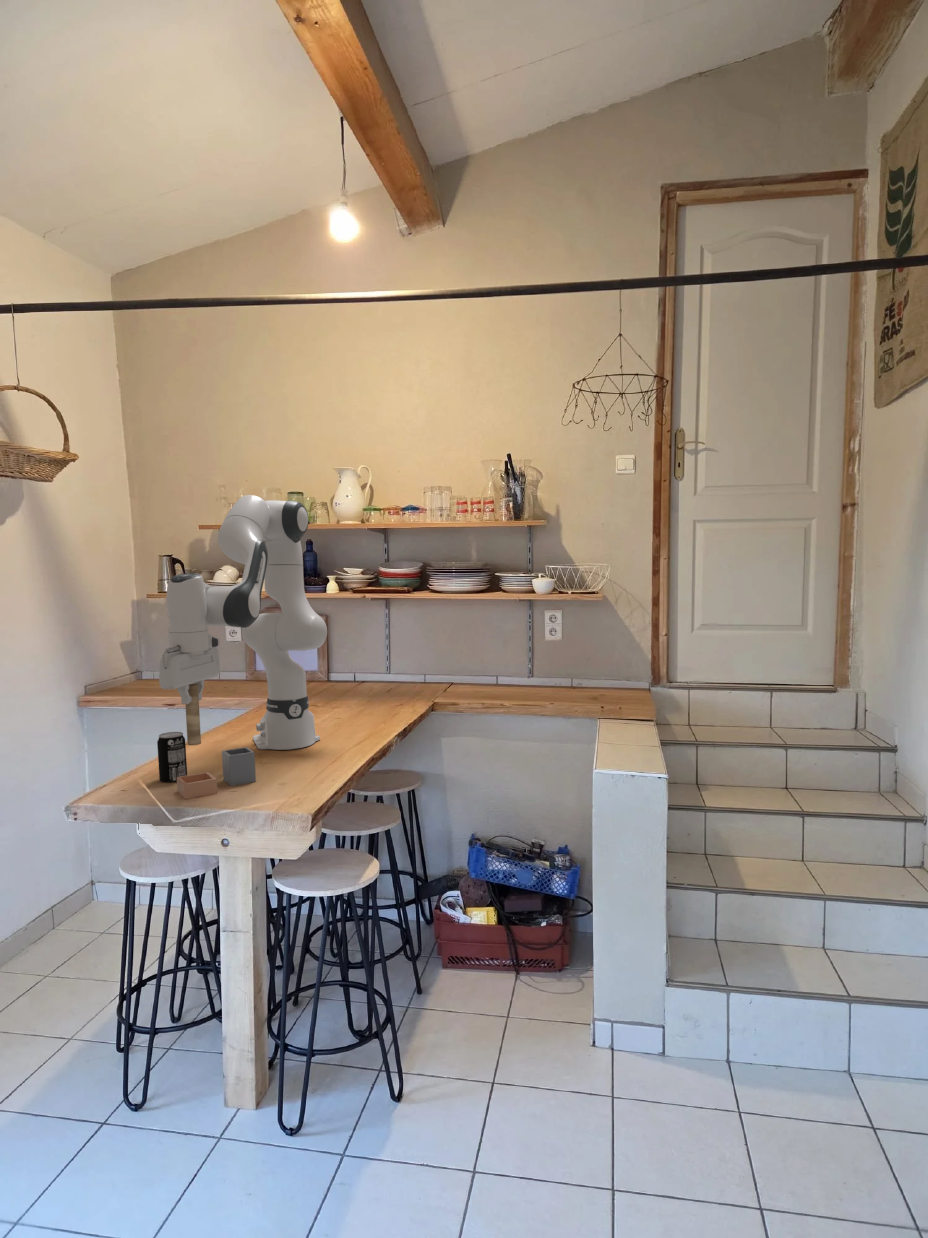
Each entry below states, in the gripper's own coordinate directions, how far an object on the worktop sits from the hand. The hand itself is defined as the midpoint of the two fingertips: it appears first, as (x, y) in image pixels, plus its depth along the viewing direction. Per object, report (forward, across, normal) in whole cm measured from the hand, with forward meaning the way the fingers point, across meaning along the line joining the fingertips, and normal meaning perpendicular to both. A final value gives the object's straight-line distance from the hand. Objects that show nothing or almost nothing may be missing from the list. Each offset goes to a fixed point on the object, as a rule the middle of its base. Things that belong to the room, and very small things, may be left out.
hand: (192, 702), depth 185 cm
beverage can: (+22, +9, +12) cm, 27 cm away
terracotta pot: (+22, 0, 0) cm, 22 cm away
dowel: (+10, 0, 0) cm, 10 cm away
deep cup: (+22, +10, -6) cm, 25 cm away
